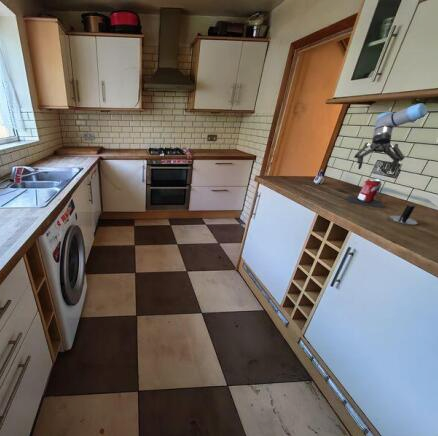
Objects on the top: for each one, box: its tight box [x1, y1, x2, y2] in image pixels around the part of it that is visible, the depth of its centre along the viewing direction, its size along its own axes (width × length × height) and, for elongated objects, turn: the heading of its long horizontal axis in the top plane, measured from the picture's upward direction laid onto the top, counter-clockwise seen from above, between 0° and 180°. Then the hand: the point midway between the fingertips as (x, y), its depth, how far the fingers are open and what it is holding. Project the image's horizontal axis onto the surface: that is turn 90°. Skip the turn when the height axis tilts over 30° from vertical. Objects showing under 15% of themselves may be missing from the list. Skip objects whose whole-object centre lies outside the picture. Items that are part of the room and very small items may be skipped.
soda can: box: [357, 178, 383, 202], centre depth 123 cm, size 7×7×12 cm
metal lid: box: [388, 204, 418, 227], centre depth 103 cm, size 9×9×8 cm
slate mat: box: [347, 195, 385, 209], centre depth 126 cm, size 14×12×1 cm
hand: (375, 169), depth 126 cm, fingers open, 13 cm apart
